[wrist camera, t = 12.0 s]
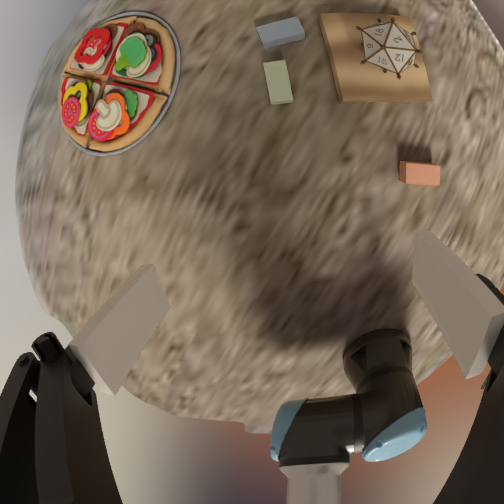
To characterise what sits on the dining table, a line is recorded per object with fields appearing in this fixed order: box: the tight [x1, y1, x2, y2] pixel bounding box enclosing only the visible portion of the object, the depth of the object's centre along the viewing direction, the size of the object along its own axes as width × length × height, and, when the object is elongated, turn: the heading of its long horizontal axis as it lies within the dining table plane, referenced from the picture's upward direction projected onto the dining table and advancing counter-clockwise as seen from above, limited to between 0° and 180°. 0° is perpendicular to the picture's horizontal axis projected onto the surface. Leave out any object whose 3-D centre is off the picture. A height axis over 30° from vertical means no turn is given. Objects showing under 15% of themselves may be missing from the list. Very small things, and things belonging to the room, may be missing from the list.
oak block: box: [318, 13, 432, 104], centre depth 27 cm, size 14×14×3 cm
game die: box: [355, 17, 422, 80], centre depth 22 cm, size 9×8×10 cm
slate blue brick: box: [256, 17, 305, 49], centre depth 28 cm, size 6×3×3 cm, turn 109°
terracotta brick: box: [399, 161, 440, 186], centre depth 34 cm, size 6×3×3 cm, turn 95°
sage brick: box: [263, 60, 293, 105], centre depth 32 cm, size 6×3×3 cm, turn 10°
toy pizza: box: [58, 12, 181, 156], centre depth 33 cm, size 28×28×4 cm
